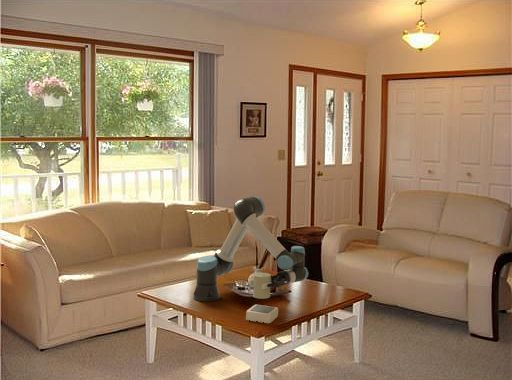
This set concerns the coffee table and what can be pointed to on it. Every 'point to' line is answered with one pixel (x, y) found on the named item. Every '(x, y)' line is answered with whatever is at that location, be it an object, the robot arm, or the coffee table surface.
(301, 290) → the coffee table surface
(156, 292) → the coffee table surface
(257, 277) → the can
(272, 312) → the stand
